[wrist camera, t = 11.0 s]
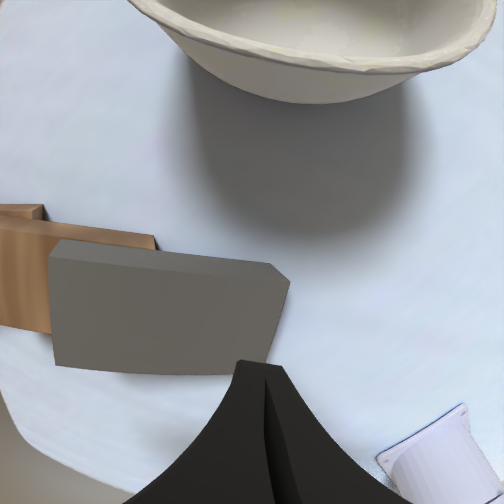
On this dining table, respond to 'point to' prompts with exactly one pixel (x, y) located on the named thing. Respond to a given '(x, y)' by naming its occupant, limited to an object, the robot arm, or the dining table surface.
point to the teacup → (321, 42)
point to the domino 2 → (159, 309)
